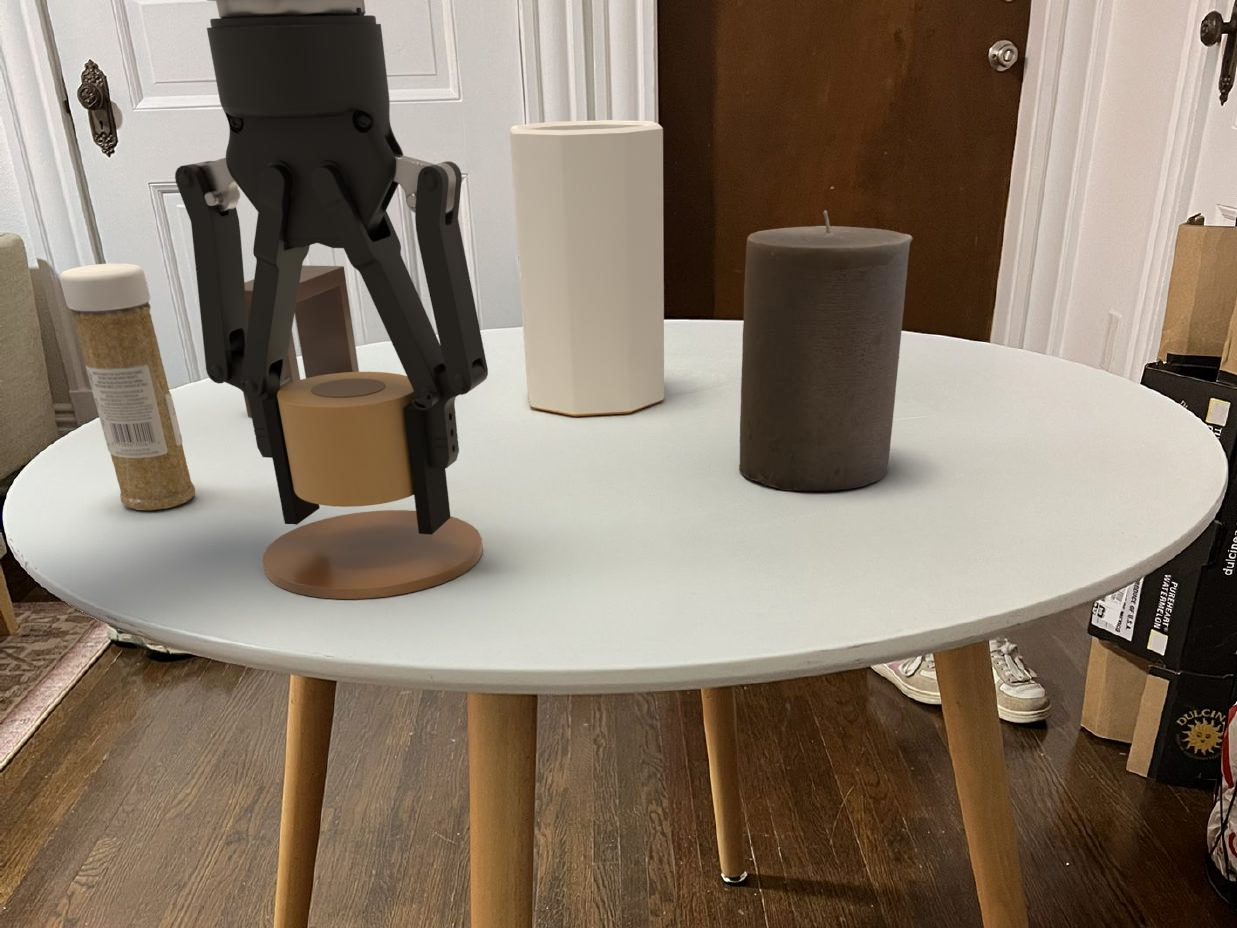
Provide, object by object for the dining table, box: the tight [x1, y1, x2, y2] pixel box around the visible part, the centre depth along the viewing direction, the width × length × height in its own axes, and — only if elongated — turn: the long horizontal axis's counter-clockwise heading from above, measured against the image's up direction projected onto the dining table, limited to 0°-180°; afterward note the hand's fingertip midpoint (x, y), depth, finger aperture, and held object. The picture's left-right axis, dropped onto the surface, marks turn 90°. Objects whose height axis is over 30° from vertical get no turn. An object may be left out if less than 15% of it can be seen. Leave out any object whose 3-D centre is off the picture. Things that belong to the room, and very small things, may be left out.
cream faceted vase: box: [509, 119, 665, 417], centre depth 88 cm, size 11×11×18 cm
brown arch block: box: [242, 264, 360, 418], centre depth 92 cm, size 4×11×9 cm, turn 166°
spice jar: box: [59, 263, 196, 511], centre depth 71 cm, size 5×5×14 cm
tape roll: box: [277, 371, 417, 508], centre depth 62 cm, size 7×7×5 cm
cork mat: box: [262, 509, 483, 600], centre depth 65 cm, size 12×12×1 cm
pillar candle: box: [738, 210, 914, 492], centre depth 73 cm, size 10×10×15 cm
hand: (367, 519), depth 64 cm, fingers closed on tape roll, 7 cm apart
